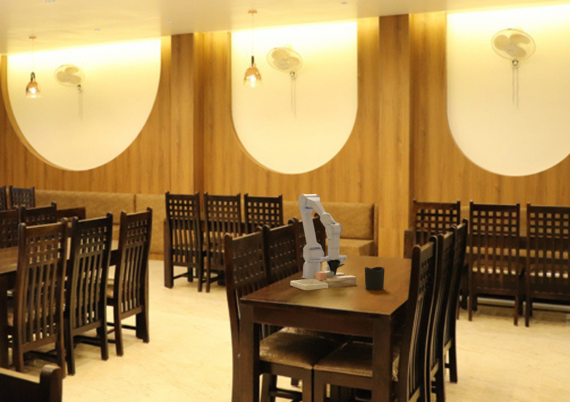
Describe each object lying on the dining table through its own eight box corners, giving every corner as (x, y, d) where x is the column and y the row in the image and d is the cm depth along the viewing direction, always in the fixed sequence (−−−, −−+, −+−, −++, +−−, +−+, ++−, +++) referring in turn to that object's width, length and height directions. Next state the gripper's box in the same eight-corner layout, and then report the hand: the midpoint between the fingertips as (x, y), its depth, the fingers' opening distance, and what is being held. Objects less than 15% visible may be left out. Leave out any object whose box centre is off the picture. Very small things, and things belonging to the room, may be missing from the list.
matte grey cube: (322, 278, 318) (322, 271, 317) (329, 277, 320) (329, 270, 319) (327, 279, 314) (327, 272, 314) (334, 278, 316) (334, 271, 316)
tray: (290, 285, 315) (290, 281, 315) (313, 283, 321) (313, 278, 321) (305, 290, 303) (305, 285, 302) (328, 287, 309) (328, 283, 309)
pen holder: (368, 286, 314) (368, 265, 313) (386, 287, 310) (387, 267, 309) (361, 289, 306) (361, 268, 305) (380, 291, 301) (380, 270, 301)
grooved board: (313, 282, 321) (313, 275, 321) (340, 280, 329) (340, 272, 329) (329, 287, 309) (329, 279, 309) (356, 284, 317) (356, 276, 317)
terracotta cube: (315, 279, 316) (315, 271, 316) (322, 278, 318) (322, 271, 318) (320, 280, 312) (320, 273, 312) (326, 279, 314) (327, 272, 314)
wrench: (344, 269, 383) (326, 270, 355) (341, 268, 383) (323, 270, 356) (344, 255, 383) (327, 256, 356) (341, 255, 384) (324, 256, 356)
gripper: (325, 249, 311) (325, 277, 311) (350, 247, 318) (350, 275, 319) (318, 248, 317) (317, 275, 318) (342, 246, 324) (342, 272, 325)
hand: (333, 275), depth 319 cm, fingers closed
